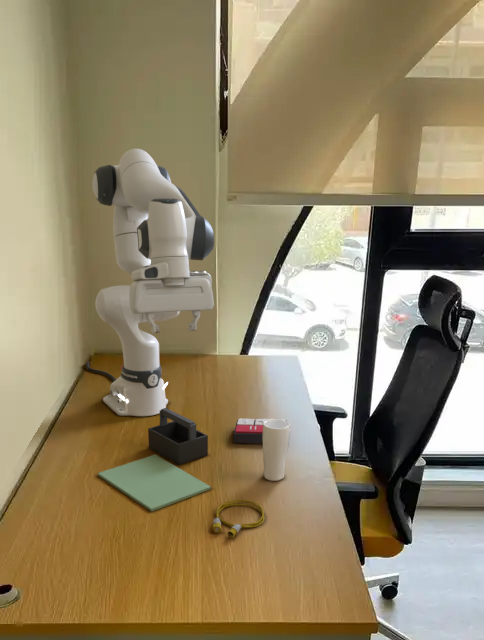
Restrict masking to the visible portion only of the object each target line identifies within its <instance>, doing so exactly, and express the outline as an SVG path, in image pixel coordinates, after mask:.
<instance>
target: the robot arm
mask: <svg viewBox="0 0 484 640" xmlns="http://www.w3.org/2000/svg"><path fill="white" fill-rule="evenodd" d="M92 177H93V178H92V191H93V194H94V196H95V198H96V201H97V202H98V203H99V204H101V205H103V206H108V207H112V206H114V207H113V208H114V209H113V218H112V219H113V221H112V223H113V224H112V225H113V226H112V230H113V231H112V232H113V242H114V251H115V262H116V264H117V266H118V267H119V269H121V270H122V271H123V272H125V273H126V274H129V275H131V280H132V283H131V284H124V285H123V284H122V285H119V284H118V285H113V286H108V287H104V288H102V289H100V290H99V292H98V293H97V295H96V297H95V305H94V306H95V310H96V313H97V315H98V317H99V318H100V319H101V321H103V322H104V323H106V324H108V325H109V326H110V327H111V328H112V329H113V330H114V331H115V332H116V334H117V336H118V338H119V340H120V343H121V348H122V358H123V364H121V365H120V368H119V370H121V373H120V376H119V377H118V378H115V377H114V376H113V375H112V374H111V373H110V372H109V373H108V372H107V371H104V370H101V369H100V370H99V369H95V368H91V367H90V361H89V360H88V361H86V362H87V363H85V367H86V369H87V370H88V371H90V372H93V373H97V374H102V375H105V376H107V377H109V378H110V379H111V380H112V381H113V382H111V384H110V386H109V394H108V395H105V396H104V397H103V398H102V402H103V403H104V404H106V405H107V407H108V408H110V409H111V410H112V411H113V412H114V413H115V414H116V415H117V416H131V417H132V416H133V417H150V416H155V415H158V414H159V415H160V410H161V409H163V408H167V405H168V404H169V399H168V398H166V390H165V389H166V387H167V386H168V384H169V381H167V382H166V383H165V381H164V380H163V378H162V372H163V371H162V365H161V364H160V363H161V362H160V343H159V341H158V339H157V338H156V337H155V336H154V335H153V334H159V333H160V325H159V324H156V322H165V321H168V320H173V319H176V318H178V316H179V315H180V313H181V312H191V316H192V319H191V322H188V324H187V326H188V331H189V332H195V331H197V330H198V325H197V324H198V322H199V319H200V317H201V311H211V310H212V309H213V308H214V307H215V300H214V299H215V298H214V292H213V288H212V286H213V278H212V276H211V274H210V273H208V272H207V271H206V270H190V263H189V262H190V261H203V260H205V259H206V258H207V257H208V256H209V255H210V254H211V252H212V251H213V250H214V247H215V235H214V229H213V227H212V225H211V223H209V221H208V220H207V219H206V218H205V217H204V216H202V215H201V214H200V213H199V211H198V210H197V208H196V207H195V205H194V204H193V202H192V201H191V200H190V198H189V197H188V196H187V195H186V193H185V192H184V191H183V190H182V188H180V187H179V186H177V185H175V184H173V182H172V180H171V177H170V173H169V171H168V170H167V169H166V167H164V166H160V165H157V163H156V161H155V160H154V159H153V157H152V156H151V155H150V154H149V153H148V152H147V151H145V150H144V149H141V148H131V149H129V150H127V151H125V152H124V153H123V154H122V155H121V157H120V160H119V163H118V164H116V165H115V164H114V165H112V164H106V165H103V166H99V167H98V168H97V169H95V171H94V175H93V176H92ZM189 260H190V261H189ZM141 323H148V325H149V326H150V331H151V333H149V332H146V331H143V330H142V329H140V328H139V324H141Z"/></svg>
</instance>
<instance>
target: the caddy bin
mask: <svg viewBox="0 0 484 640" xmlns="http://www.w3.org/2000/svg"><path fill="white" fill-rule="evenodd" d="M168 420H171V421H169V422H168ZM147 435H148V436H147V437H148V438H147V439H148V449H149V450H152V451H153V452H155V453H156V454H158V455H160V456H162V457H164V458H166V459H167V460H169V461H170V462H173V463H174V464H176V465H178V466H180V465H183V464H185V463H186V464H187V463H189V462H192V461H195V460H198V459H201V458H204V457H207V456H209V435H208V434H206V433H205V432H202V431H200V430H198V429H197V423H195V421H193V420H191V419H189V418H188V417H185V416H184V415H181V414H180V413H177V412H175V411H173V410H171V409H169V408H167V407H166V408H163V409H161V410H160V413H159V425H156V426H151V427H149V428H147Z"/></svg>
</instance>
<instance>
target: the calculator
mask: <svg viewBox="0 0 484 640" xmlns="http://www.w3.org/2000/svg"><path fill="white" fill-rule="evenodd" d="M270 419H271V418H256V419H255V418H245V417H244V418H242V417H241V418H238V419H237V420H236V422H235V427H234V429H233V443H234V444H263V423H264V422H265V421H267V420H270ZM284 420H285V421H287V422H288V420H287V419H284Z"/></svg>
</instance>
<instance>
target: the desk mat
mask: <svg viewBox="0 0 484 640" xmlns="http://www.w3.org/2000/svg"><path fill="white" fill-rule="evenodd" d="M97 476H98V477H99V478H100V479H102V480H104V481H106V482H107V484H110V485H111V486H112V487H114V488H115V489H117V490H118V491H120V492H121V493H123V494H124V495H126V496H127V497H129V498H130V499H132V500H133V501H135V502H136V503H138V504H140V505H141V506H142V507H144V508H145V509H147V510H148V511H150V512H152V513H153V512H155V511H157V510H161V509H163V508H165V507H168V506H170V505H174V504H175V503H178V502H181V501H183V500H186V499H189V498H192V497H195V496H197V495H200V494H202V493H204V492H208V491H209V490H212V487H211V485H209V484H208V483H206V482H203V481H202V480H201V479H199V478H197V477H195V476H193V475H191V474H190V473H188V472H187V471H185V470H183V469H181V468H179V467H177V466H176V465H174V464H172V463H171V462H169V461H167V460H165V459H164V458H162V457H160V456H158V455H157V454H153V455H150V456H146V457H143V458H140V459H137V460H134V461H131V462H128V463H125V464H122V465H118V466H115V467H112V468H110V469H106V470H103V471H99V472H97Z"/></svg>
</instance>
